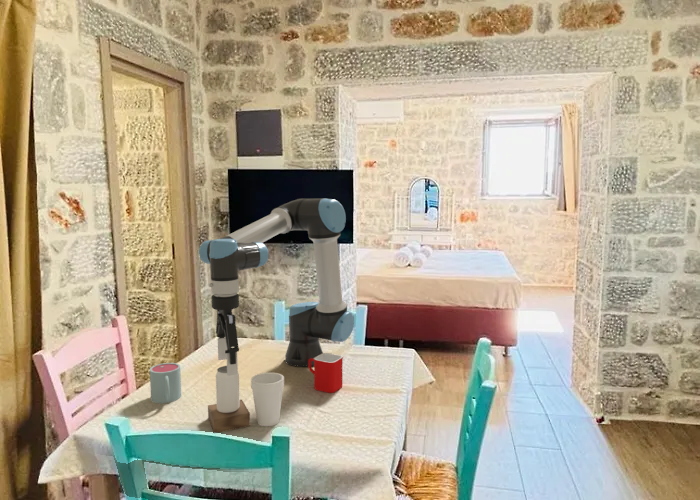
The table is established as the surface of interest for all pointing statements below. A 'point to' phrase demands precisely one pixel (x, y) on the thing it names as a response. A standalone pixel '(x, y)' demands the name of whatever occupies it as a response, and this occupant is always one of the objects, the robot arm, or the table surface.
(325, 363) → the mug
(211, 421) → the walnut block
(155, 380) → the mug
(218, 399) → the can
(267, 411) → the foam cup
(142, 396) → the table surface
